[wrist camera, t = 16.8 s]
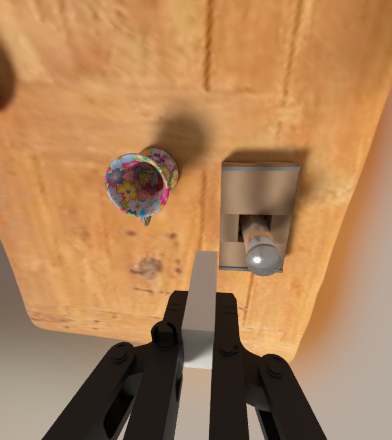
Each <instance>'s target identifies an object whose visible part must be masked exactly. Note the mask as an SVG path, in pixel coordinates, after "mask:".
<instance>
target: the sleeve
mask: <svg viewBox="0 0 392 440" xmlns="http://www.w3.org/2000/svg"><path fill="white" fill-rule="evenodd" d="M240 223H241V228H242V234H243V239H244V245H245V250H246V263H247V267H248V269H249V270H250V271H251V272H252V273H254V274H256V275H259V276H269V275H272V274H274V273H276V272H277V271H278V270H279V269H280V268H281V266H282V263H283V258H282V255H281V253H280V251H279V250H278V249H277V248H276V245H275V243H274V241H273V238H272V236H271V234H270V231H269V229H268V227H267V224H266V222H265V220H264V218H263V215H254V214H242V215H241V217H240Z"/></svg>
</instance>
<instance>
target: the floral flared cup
mask: <svg viewBox="0 0 392 440" xmlns="http://www.w3.org/2000/svg"><path fill="white" fill-rule="evenodd" d="M177 180H178V168H177V165H176V162H175V161H174V159H173V158H172V157H171V156H170V155H169V154H168V153H167V152H165V151H163V150H161V149H157V148H149V149H146V150H143V151H142V152H140V153H139V154H135V153H132V154H125V155H122V156H120V157H118V158H117V159H115V160H114V161H113V162H112V163H111V164H110V166H109V168H108V170H107V173H106V178H105V184H106V190H107V193H108V195H109V197H110V199H111V200H112V202H113V203H114V204H115V205H116V206H117V207H118V208H119V209H120V210H121V211H123V212H124V213H126V214H129V215H131V216H135V217H141V224H142V226H148V225H149V223H150V219H151V216H152V215H154V214H156V213H158V212H159V211H160V210H161V209H162V208H163V207H164V206H165V204H166V202H167V200H168V196H169V191H171V190H172V189H173V188H174V186H175V185H176V183H177ZM145 217H147V218H146V221H145Z"/></svg>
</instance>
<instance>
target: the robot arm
mask: <svg viewBox="0 0 392 440" xmlns="http://www.w3.org/2000/svg"><path fill="white" fill-rule="evenodd" d="M216 285H217V252H213V251H196V256H195V261H194V266H193V271H192V277H191V282H190V287H189V291H176V290H175V291H174V292H173V293H172V294H171V296H170V297H169V301H168V305H167V308H166V311H165V314H164V318H163V320H162V321H160V322H157V323H156V324H155V325H154V326H153V328H152V329H151V336H152V342H150V343H148V344H146V345H141V346H138V347H133V345H132V344H130V343H128V342H121V343H118V344H116V345H114V346H113V347H111V349H110V350H108V352H107V353H106V355H105V356H104V357H103V358H102V360H101V361H100V362H99V364H98V365H97V366H96V368H95V369H94V370H93V372H92V373H91V374H90V376H89V377H88V378H87V380H86V381H85V382H84V384H83V385H82V386H81V388H80V389H79V390H78V392H77V393H76V395H75V396H74V397H73V398H72V400H71V401H70V402H69V404H68V405H67V406H66V408H65V409H64V410H63V412H62V413H61V414H60V416H59V417H58V418H57V420H56V421H55V422H54V424H53V425H52V426H51V428H50V429H49V430H48V432H47V433H46V434H45V436H44V437H43V438H42V440H117V438H118V436H119V434H120V432H121V430H122V429H123V426H124V425H125V423H126V421H127V419H128V417H129V415H130V413H131V415H130V418H129V421H128V425H127V428H126V431H125V435H124V438H123V440H174V435H175V428H176V421H177V414H178V408H179V400H180V394H181V387H182V381H183V374H182V371H183V365H184V366H185V367H193V368H203V369H212V378H211V379H212V380H211V402H210V424H209V440H249V430H248V418H247V407H246V403H247V404H250V405H251V406H254V407H255V410H256V413H257V416H258V420H259V423H260V426H261V429H262V432H263V435H264V439H265V440H327V438H326V436H325V434H324V433H323V430H322V429H321V427H320V425H319V423H318V421H317V419H316V417H315V415H314V413H313V411H312V409H311V407H310V405H309V403H308V401H307V399H306V397H305V395H304V393H303V391H302V389H301V387H300V385H299V383H298V381H297V379H296V378H295V376H294V374H293V372H292V370H291V368H290V366H289V365H288V363H287V362H286V361H285V360H284V359H283V358H282V357H280V356H278V355H275V354H266V355H264V356H263V357H260V356H258V355H255V354H253V353H251V352H249V351H248V350H247V349H245V348H244V346H243V345H242V343H241V341H240V337H239V325H238V313H237V300H236V298H235V297H234V295H233V293H220V292H216ZM131 411H132V412H131Z"/></svg>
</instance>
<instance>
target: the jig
mask: <svg viewBox="0 0 392 440" xmlns="http://www.w3.org/2000/svg"><path fill="white" fill-rule="evenodd" d="M300 168H301V167H300V166H299V165H297V164H295V163H294V162H222V171H221V212H220V253H219V270H234V271H250V270H249V269H248V267H247V263H246V250H245V245H244V239H243V234H242V232H238V223H239V214H254V215H267V218H266V224H267V227H268V229H269V231H270V234H271V236H272V238H273V241H274V243H275V245H276V248H277V249H278V250H279V251H280V253H281V255H282V258H283V263H282V266H281V268H280V269H279V270H278V271H277V273H283V264H284V258H285V252H286V246H287V240H288V234H289V229H290V223H291V217H292V211H293V205H294V199H295V194H296V188H297V182H298V176H299V171H300Z"/></svg>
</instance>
